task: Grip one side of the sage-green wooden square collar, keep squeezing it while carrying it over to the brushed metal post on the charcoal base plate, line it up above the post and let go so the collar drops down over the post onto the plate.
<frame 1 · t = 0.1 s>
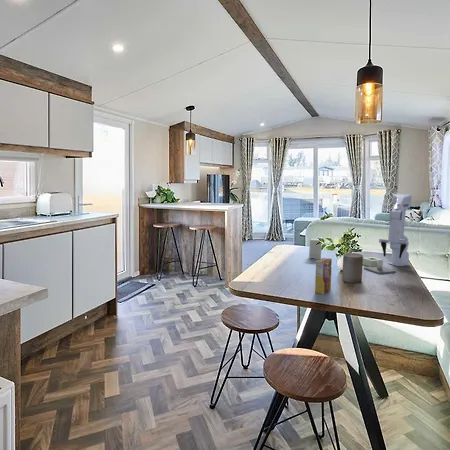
hand: (392, 257, 197), 11 cm above the table, tool pointing down, fingers open, 7 cm apart
pillar candle: (351, 281, 189), on the table
supplement box: (314, 258, 240), on the table
post stand: (379, 270, 210), on the table
candy box: (322, 291, 171), on the table
collar: (371, 265, 223), on the table
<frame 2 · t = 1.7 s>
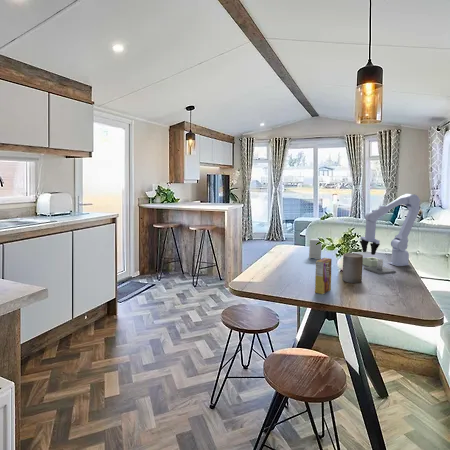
hand: (368, 253, 225), 7 cm above the table, tool pointing down, fingers open, 7 cm apart
nothing on the table moved.
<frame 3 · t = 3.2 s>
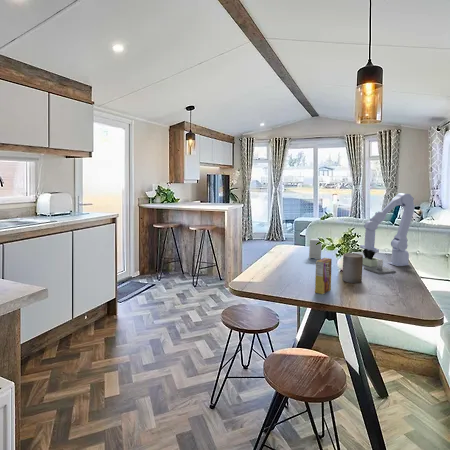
hand: (368, 261, 226), 1 cm above the table, tool pointing down, fingers closed on collar
collar: (371, 265, 223), on the table, touching gripper
everything else where it was.
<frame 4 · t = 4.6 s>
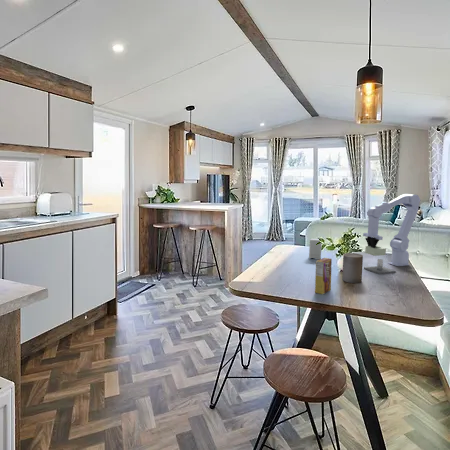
hand: (371, 249, 220), 10 cm above the table, tool pointing down, fingers closed on collar
collar: (375, 253, 217), point 8 cm above the table, touching gripper
everything else where it was.
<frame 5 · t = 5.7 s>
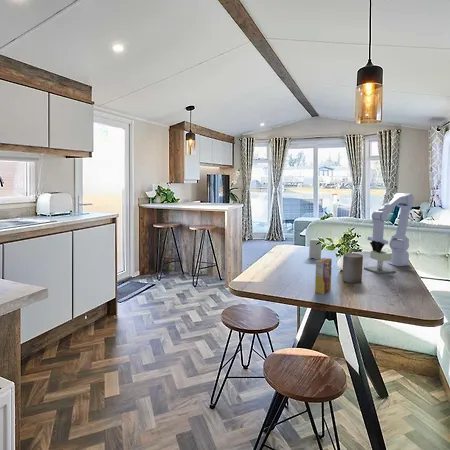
hand: (376, 254, 212), 9 cm above the table, tool pointing down, fingers closed on collar
collar: (380, 259, 209), point 7 cm above the table, touching gripper
everything else where it was.
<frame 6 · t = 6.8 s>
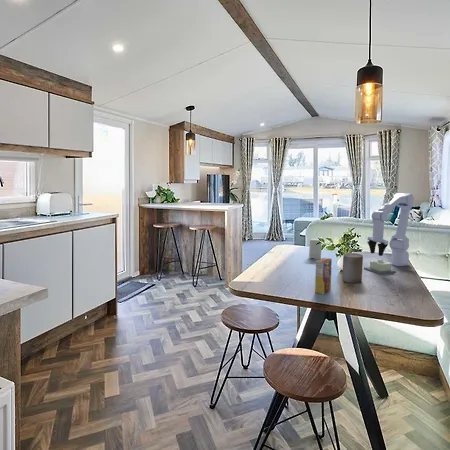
hand: (376, 254, 212), 9 cm above the table, tool pointing down, fingers open, 6 cm apart
collar: (380, 269, 209), point 1 cm above the table, touching post stand
everything else where it was.
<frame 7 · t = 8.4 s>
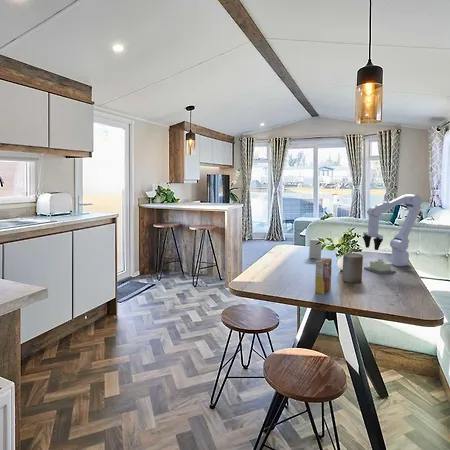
hand: (371, 248, 221), 10 cm above the table, tool pointing down, fingers open, 7 cm apart
nothing on the table moved.
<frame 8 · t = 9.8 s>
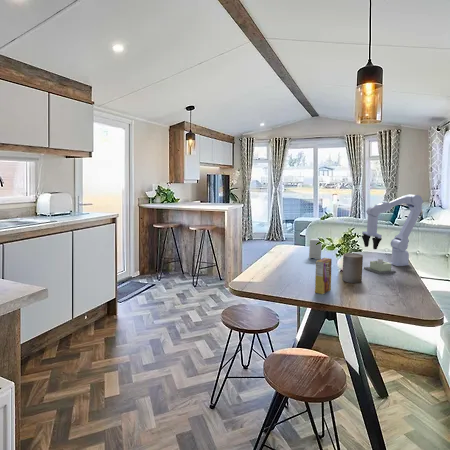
hand: (370, 247, 223), 10 cm above the table, tool pointing down, fingers open, 7 cm apart
nothing on the table moved.
at the end: collar 0.3 cm from the post stand (horizontally); collar point 1.0 cm above the table; collar tilted 0° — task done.
